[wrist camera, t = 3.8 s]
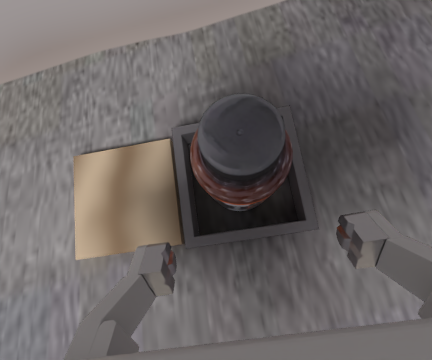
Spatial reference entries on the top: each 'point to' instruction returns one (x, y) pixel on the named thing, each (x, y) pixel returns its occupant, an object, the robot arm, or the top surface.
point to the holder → (194, 239)
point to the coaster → (126, 199)
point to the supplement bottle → (241, 151)
